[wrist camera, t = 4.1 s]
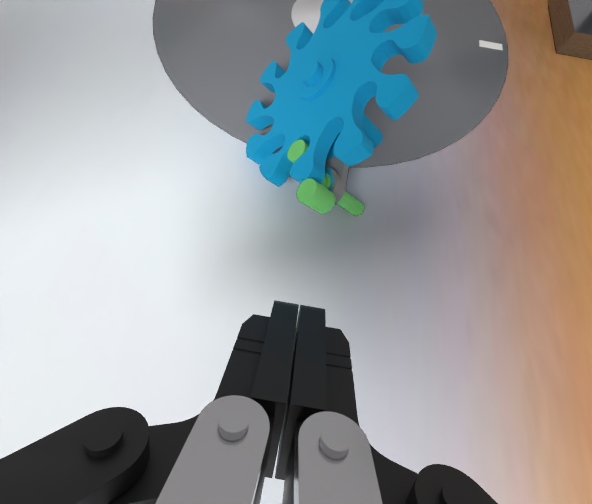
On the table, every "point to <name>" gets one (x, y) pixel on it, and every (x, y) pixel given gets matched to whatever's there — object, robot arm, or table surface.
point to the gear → (336, 95)
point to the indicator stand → (572, 27)
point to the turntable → (306, 8)
